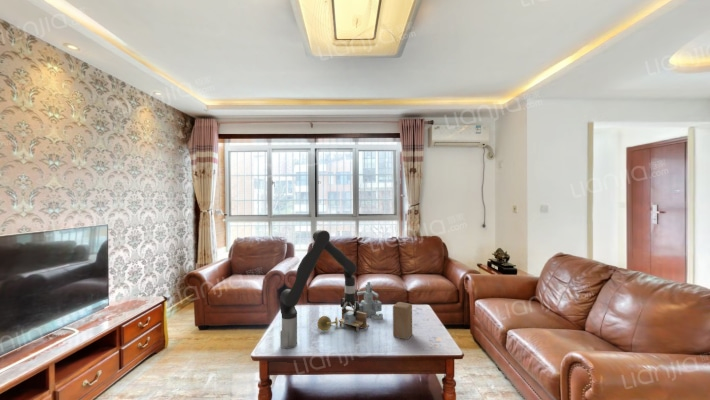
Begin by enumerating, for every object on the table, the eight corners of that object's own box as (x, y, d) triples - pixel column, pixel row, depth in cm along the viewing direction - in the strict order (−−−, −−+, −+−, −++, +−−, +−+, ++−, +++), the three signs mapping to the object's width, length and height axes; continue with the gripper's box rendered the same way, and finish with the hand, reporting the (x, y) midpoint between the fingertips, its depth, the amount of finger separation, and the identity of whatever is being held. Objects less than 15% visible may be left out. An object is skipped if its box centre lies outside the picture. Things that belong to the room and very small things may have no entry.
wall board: (360, 332, 191) (360, 317, 192) (336, 325, 202) (336, 311, 202) (368, 326, 201) (368, 311, 201) (345, 320, 212) (345, 306, 212)
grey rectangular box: (349, 324, 194) (349, 315, 194) (343, 323, 196) (343, 314, 197) (355, 320, 200) (355, 312, 200) (349, 319, 203) (349, 310, 203)
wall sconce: (335, 315, 208) (339, 313, 185) (336, 329, 204) (341, 329, 182) (316, 317, 205) (318, 316, 183) (316, 331, 201) (319, 332, 179)
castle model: (352, 314, 222) (351, 282, 222) (371, 311, 229) (371, 279, 230) (362, 323, 206) (361, 288, 206) (382, 318, 213) (382, 285, 214)
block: (407, 340, 179) (407, 308, 179) (392, 336, 184) (392, 305, 185) (412, 334, 188) (412, 303, 188) (398, 330, 193) (398, 301, 193)
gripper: (338, 291, 200) (338, 314, 199) (355, 294, 192) (355, 319, 192) (344, 288, 206) (344, 311, 206) (361, 291, 198) (361, 315, 198)
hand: (349, 315), depth 199 cm, fingers open, 8 cm apart
